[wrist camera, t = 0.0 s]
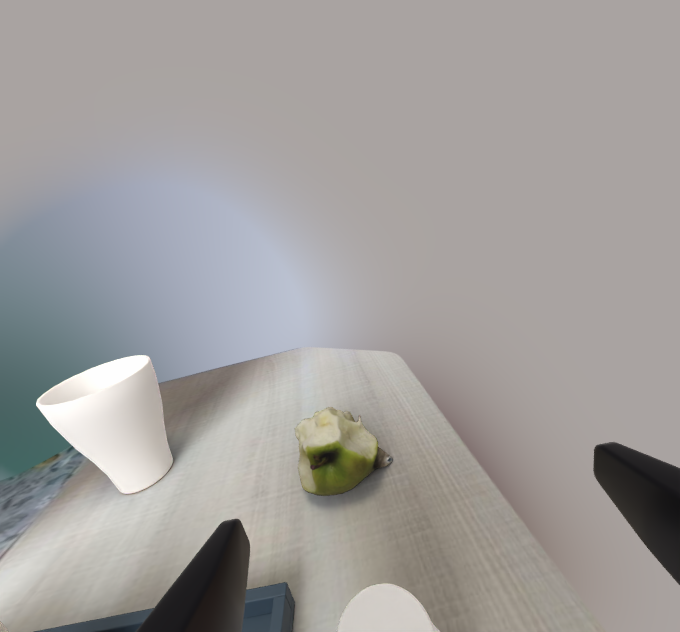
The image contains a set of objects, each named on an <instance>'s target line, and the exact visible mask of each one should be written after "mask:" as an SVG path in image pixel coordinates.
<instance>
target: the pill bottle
mask: <svg viewBox="0 0 680 632" xmlns="http://www.w3.org/2000/svg"><path fill="white" fill-rule="evenodd" d="M337 632H440V631H439V630H438V629H437V627H436V626H435V625H434V624H433V623H432V622H431V619H430V617H429V615H428V614H427V612H426V610H425V608H424V607H423V606H422V604H421V603H420V602H419V601H418V599H417V598H416V597H415V596H414V595H412V594H411V593H410V592H408V591H407V590H405V589H404V588H402V587H399V586H397V585H393V584H388V583H381V584H375V585H372V586H368V587H367V588H365V589H363V590H362V591H360V592H359V593H358V594H356V595H355V596H354V597H353V598H352V600H351V601H350V602H349V603H348V605H347V607H346V608H345V610H344V611H343V614H342V615H341V618H340V621H339V624H338V627H337Z"/></svg>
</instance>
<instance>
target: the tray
mask: <svg viewBox="0 0 680 632" xmlns="http://www.w3.org/2000/svg"><path fill="white" fill-rule="evenodd" d="M294 603H295V602H294V599H293V597H292V594H291V592H290V589H289V587H288V584H287V582H284V583H279V584H274V585H269V586H264V587H259V588H254V589H249V590H246V597H245V607H244V617H243V625H242V632H292V626H293V614H294ZM153 609H154V608H152V609H147V610H142V611H137V612H132V613H127V614H121V615H116V616H111V617H106V618H101V619H96V620H91V621H86V622H81V623H76V624H71V625H65V626H60V627H55V628H50V629H45V630H40V631H35V632H136V631H137V630H138V628H139V627H140V626H141V624H142V623H143V622H144V621H145V619H146V618H147V617H148V616H149V614H150V613H151V612H152V610H153Z"/></svg>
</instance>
